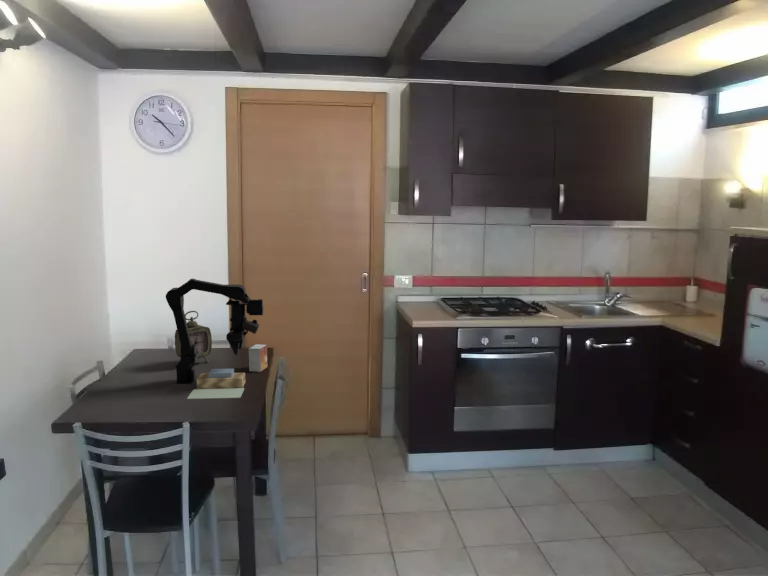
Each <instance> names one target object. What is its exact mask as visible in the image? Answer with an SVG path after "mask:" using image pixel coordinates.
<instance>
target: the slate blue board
mask: <svg viewBox="0 0 768 576" xmlns="http://www.w3.org/2000/svg"><path fill="white" fill-rule="evenodd" d="M208 373H209V378H232V376H233V374H234V373H235V368H211V370H210V371H209V372H208Z"/></svg>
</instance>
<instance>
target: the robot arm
mask: <svg viewBox="0 0 768 576" xmlns="http://www.w3.org/2000/svg"><path fill="white" fill-rule="evenodd" d="M192 290H196V291H201V292H207V293H212V294H217V295H218V294H219V295H222V296H225V297H226V298H228V299H229V300H228V301H226V303H225V305H226V306H230V318H229V321H230V327H229V332H227V334H226V335H225V336H226V337H225V338H226V340H227V342H228V344H229V345H230V348H231V349H232V352H233V354H234V355H236V356H237V355H238V354H239V353H238V352H239V350H242V347H243V343H244V338H245V336H246V335H247V334H248V333H249V332H250V333H252V334H253V335H255V334H257V332H258V331H259V328H260V324H259V323H258V320H257V319H253V320H247V317H246V314H248V315H249V316H264V304H263V303H264V302H263V299H262V298H258V299H251V298H250V296H249V295H248V294H247V292H246V288H245V286H244V285H242V284H237V283H234V284H222V283H217V282H211V281H205V280H199V279H195V278H190V279H189V280H188V281H186V282H185V283H184V284H182V285H180V286H179V287H172V288H171V289H170V290H169V291H167V292H166V294H165V299H166V303H167V304H168V306H169V308H170V310H171V311H172V313H173V314H172V315H173V317H174V321H175V326H176V330H177V331H178V335H179V339H180V343H181V350H180V355H181V357H180V359H179V360H178V362H177V363H176V364H175V370H176V382H175V384H177V385H178V384H179V385H180V384H182V385H183V384H193V382H194V381H195V380H196V370H195V369H194V365H193V364H194V363H195V362H196V361H197V360H198V359H197V357H198V353H199V351H198V350H197V344H194V345H193V343H192V342H191V339H190V334H189V330H188V326H187V322H188V321H187V320H186V318H185V314H186V313H185V310H184V309H185V308H184V304H185V301H184V300H185V298H184V296H185V295H186V294H188V293H189V292H190V291H192Z"/></svg>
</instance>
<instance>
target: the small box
mask: <svg viewBox="0 0 768 576" xmlns="http://www.w3.org/2000/svg"><path fill="white" fill-rule="evenodd" d="M267 368H268V345H267V344H258V343H257V344H256V343H255V344H254V345H253V346H250V347H249V348H248V369H249V372H257V373H259V372H260V373H261V372H262V371H263V370H265V369H267Z"/></svg>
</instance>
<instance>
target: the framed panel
mask: <svg viewBox="0 0 768 576" xmlns="http://www.w3.org/2000/svg"><path fill="white" fill-rule="evenodd" d="M245 384H246V372H234V374H233V376H232V378H209V372H207V373H203V372H202V373H200V375H198V377H197V378H196V389H224V388H244V386H245Z"/></svg>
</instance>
